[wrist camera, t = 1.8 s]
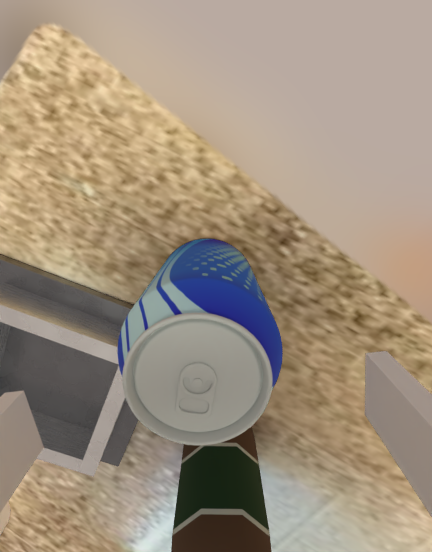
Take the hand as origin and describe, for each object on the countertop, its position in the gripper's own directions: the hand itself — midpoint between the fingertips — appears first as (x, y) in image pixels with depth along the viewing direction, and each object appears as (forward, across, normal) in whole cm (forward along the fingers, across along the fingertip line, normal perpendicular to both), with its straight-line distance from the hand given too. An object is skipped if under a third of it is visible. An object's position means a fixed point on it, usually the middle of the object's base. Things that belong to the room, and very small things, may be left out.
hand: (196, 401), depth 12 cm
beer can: (+18, 0, 0) cm, 18 cm away
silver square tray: (+17, +16, +8) cm, 25 cm away
